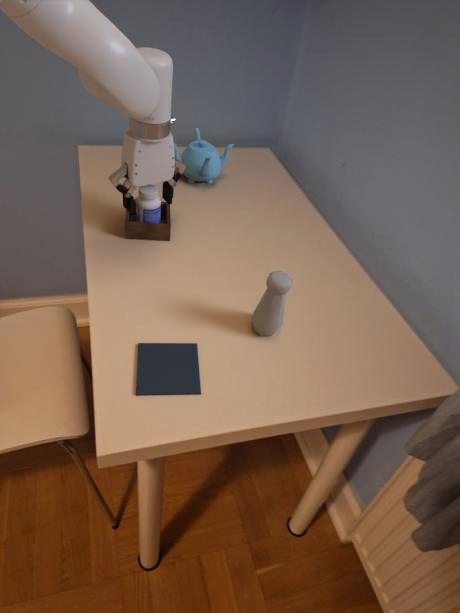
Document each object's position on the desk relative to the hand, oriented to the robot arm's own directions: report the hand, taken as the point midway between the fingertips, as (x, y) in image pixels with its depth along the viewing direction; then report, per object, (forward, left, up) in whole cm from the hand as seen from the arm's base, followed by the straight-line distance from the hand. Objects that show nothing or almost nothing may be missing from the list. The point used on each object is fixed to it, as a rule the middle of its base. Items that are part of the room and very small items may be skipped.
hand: (148, 205), depth 88 cm
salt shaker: (+22, -30, -6) cm, 38 cm away
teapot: (+13, +25, -6) cm, 29 cm away
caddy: (0, 0, -6) cm, 6 cm away
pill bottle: (0, 0, -6) cm, 6 cm away
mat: (+4, -39, -6) cm, 40 cm away
